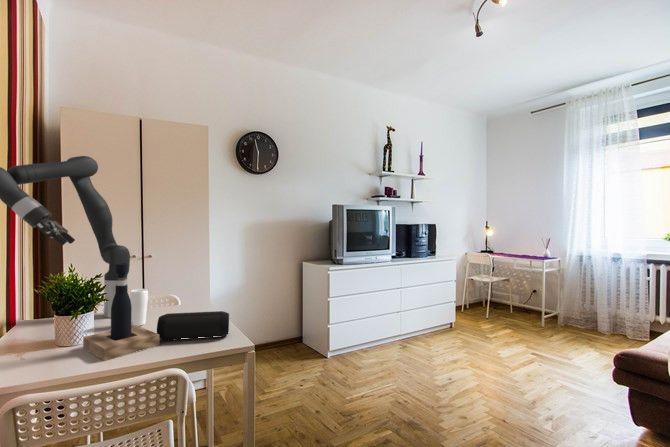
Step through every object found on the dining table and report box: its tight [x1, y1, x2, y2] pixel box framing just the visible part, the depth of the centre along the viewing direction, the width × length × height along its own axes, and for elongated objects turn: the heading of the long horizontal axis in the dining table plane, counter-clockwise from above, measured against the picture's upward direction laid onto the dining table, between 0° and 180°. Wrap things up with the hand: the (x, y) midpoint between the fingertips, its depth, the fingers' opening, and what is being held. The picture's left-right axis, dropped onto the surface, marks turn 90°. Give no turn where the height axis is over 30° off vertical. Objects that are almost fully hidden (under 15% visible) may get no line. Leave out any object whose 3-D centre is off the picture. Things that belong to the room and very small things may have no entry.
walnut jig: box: [82, 325, 160, 362], centre depth 128 cm, size 18×18×4 cm
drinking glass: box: [129, 288, 149, 326], centre depth 153 cm, size 7×7×15 cm
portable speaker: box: [156, 310, 230, 341], centre depth 139 cm, size 26×10×10 cm, turn 105°
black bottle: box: [110, 263, 132, 341], centre depth 127 cm, size 6×6×30 cm
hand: (69, 242), depth 134 cm, fingers open, 8 cm apart
